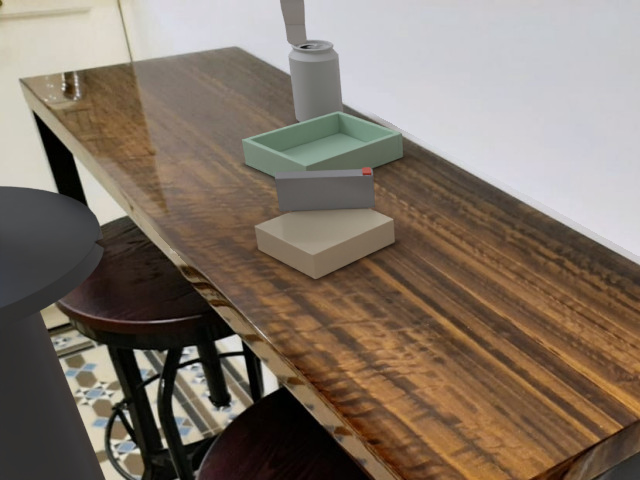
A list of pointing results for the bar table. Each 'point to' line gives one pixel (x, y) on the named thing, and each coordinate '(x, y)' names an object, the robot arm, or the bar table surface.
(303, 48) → the can
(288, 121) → the bar table surface
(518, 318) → the bar table surface
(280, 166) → the green tray
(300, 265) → the block
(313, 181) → the slate gray plank
